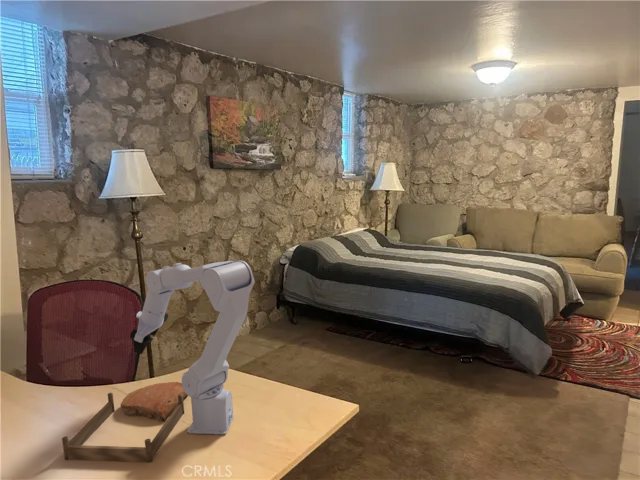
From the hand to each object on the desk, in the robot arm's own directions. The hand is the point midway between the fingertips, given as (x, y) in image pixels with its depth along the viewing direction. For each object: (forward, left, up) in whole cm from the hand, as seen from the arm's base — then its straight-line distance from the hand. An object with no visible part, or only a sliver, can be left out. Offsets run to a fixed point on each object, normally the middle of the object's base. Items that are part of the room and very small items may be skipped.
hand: (144, 342), depth 126 cm
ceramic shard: (-4, +5, -16) cm, 17 cm away
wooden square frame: (-3, +19, -15) cm, 24 cm away
